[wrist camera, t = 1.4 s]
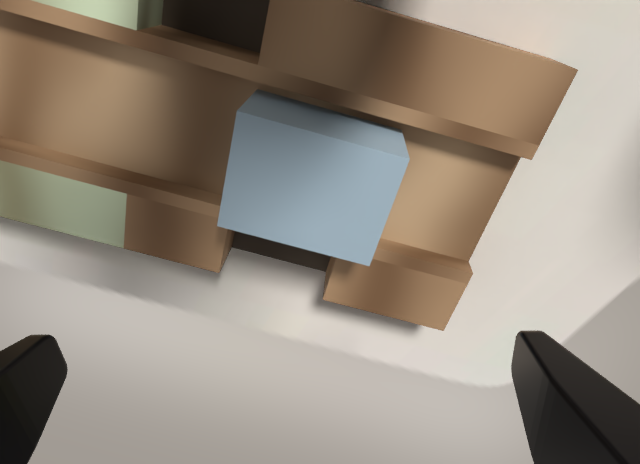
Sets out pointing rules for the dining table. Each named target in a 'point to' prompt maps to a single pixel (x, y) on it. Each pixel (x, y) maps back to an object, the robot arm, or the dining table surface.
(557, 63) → the tray
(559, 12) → the dining table surface
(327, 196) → the block
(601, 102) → the dining table surface
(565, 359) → the robot arm
